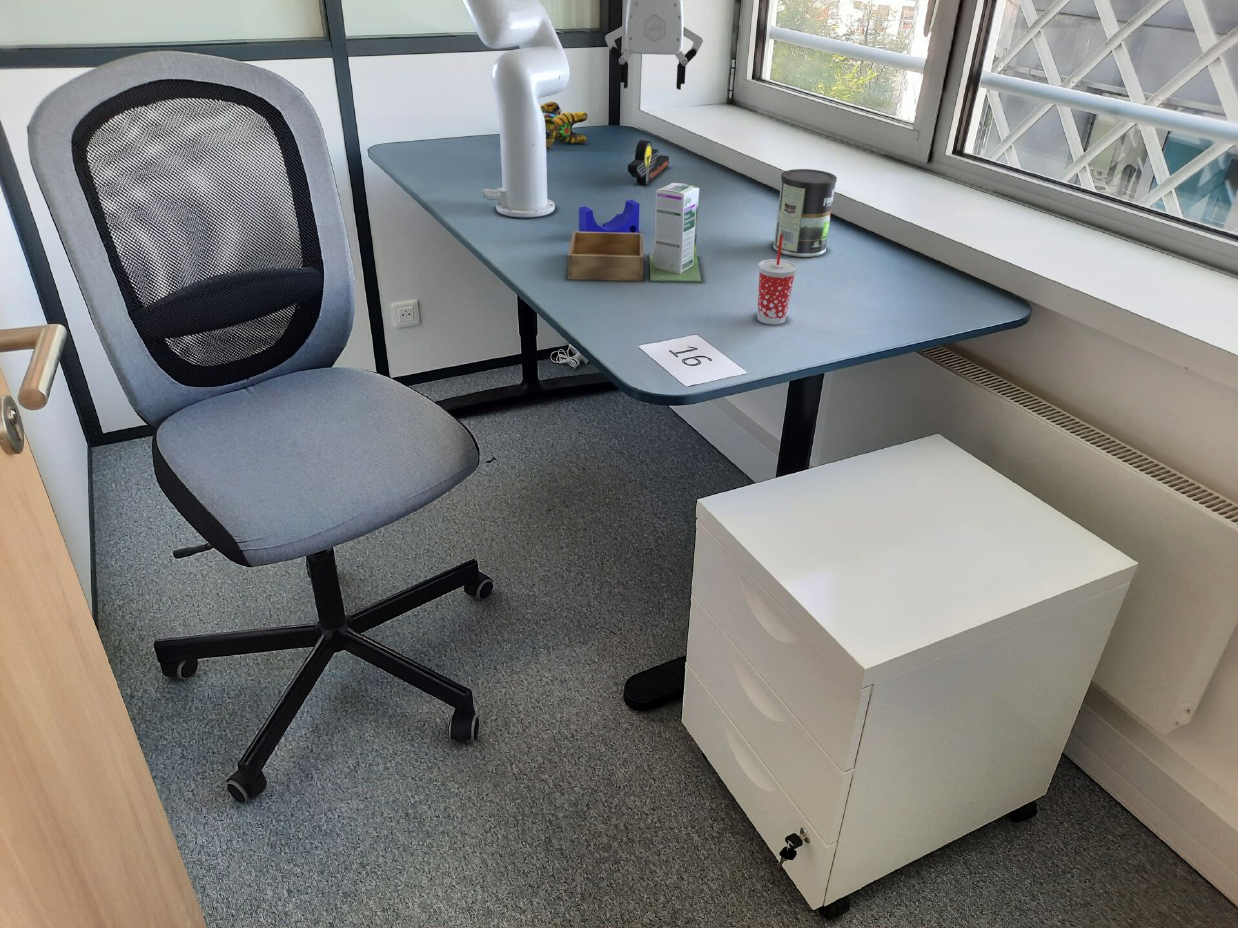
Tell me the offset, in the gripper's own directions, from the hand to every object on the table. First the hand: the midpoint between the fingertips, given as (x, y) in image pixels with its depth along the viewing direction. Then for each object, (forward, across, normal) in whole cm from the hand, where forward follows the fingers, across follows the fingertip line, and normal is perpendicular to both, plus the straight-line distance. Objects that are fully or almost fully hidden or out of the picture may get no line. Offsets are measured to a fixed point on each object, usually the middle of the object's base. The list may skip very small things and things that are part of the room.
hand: (652, 87), depth 160 cm
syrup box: (+28, +5, -16) cm, 33 cm away
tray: (+28, -8, -16) cm, 33 cm away
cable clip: (+28, -8, +3) cm, 30 cm away
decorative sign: (+28, +1, +45) cm, 53 cm away
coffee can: (+28, +30, -3) cm, 41 cm away
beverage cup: (+28, +20, -38) cm, 51 cm away
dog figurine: (+28, -26, +80) cm, 89 cm away
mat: (+28, +5, -16) cm, 33 cm away
